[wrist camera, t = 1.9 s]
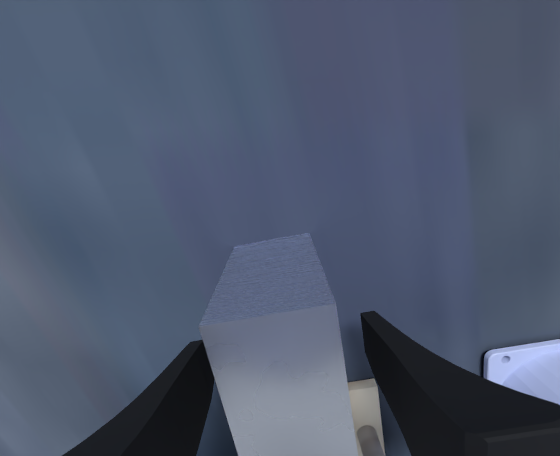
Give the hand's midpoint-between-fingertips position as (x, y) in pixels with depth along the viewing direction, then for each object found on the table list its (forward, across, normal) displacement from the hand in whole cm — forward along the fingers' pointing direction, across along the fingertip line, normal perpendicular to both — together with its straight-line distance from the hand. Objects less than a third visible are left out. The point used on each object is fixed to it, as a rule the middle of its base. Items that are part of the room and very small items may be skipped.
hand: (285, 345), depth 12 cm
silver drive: (+3, 0, 0) cm, 3 cm away
